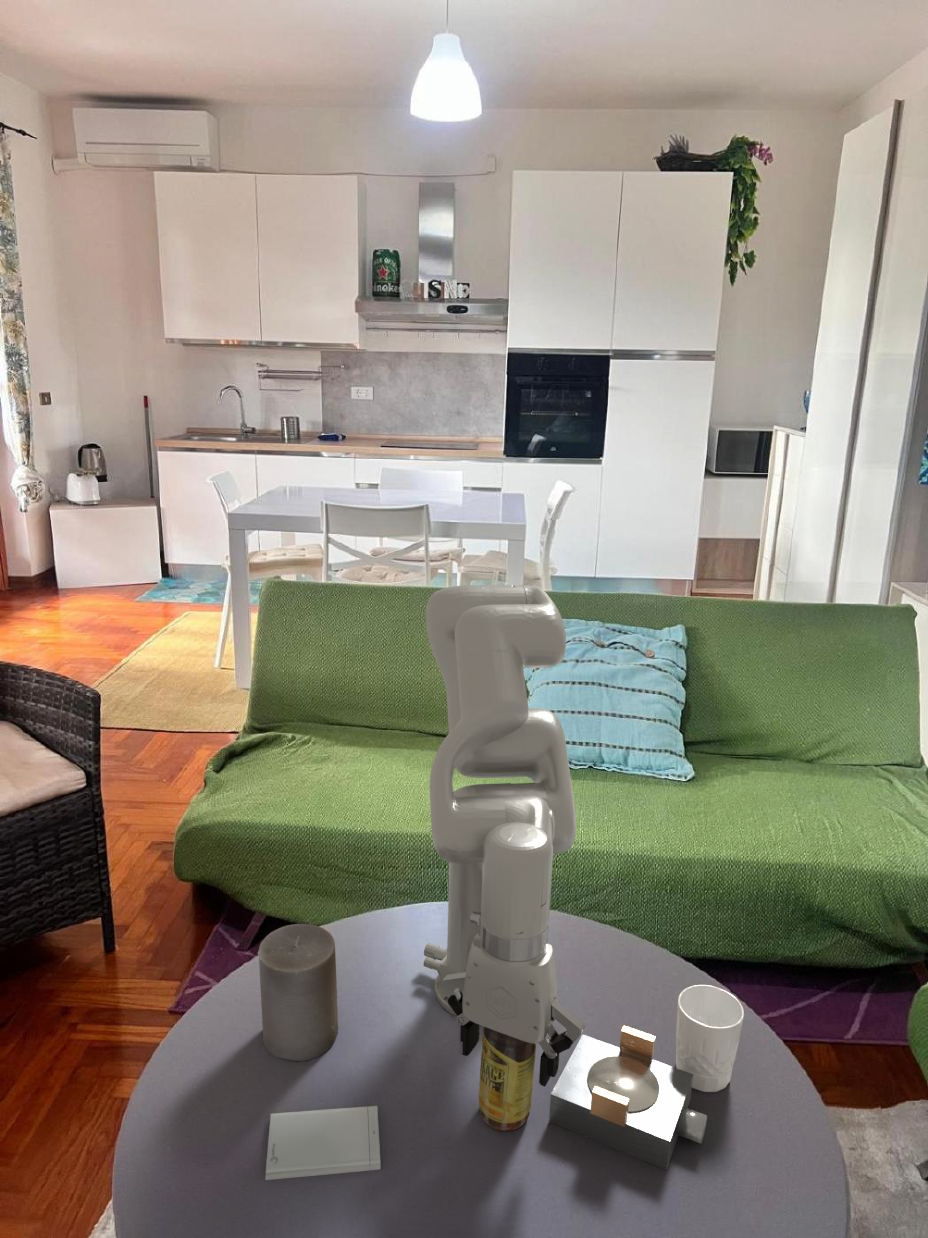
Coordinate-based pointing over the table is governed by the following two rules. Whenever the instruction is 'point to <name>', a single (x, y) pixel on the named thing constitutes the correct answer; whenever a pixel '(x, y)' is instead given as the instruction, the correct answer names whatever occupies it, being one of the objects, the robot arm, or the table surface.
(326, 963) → the pillar candle
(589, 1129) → the block
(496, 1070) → the sauce bottle
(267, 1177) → the hard drive
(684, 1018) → the white cup
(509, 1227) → the table surface
